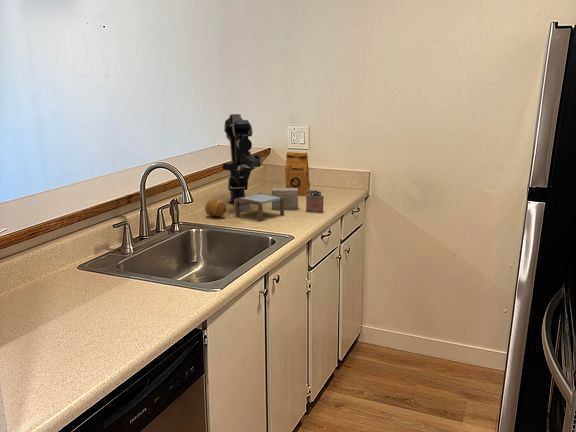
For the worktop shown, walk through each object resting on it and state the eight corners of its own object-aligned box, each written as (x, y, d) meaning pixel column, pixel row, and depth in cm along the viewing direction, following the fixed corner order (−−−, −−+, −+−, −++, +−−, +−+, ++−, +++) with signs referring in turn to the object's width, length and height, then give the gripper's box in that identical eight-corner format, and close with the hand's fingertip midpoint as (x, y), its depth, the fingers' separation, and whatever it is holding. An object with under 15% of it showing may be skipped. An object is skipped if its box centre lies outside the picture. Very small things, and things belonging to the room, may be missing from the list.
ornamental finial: (204, 217, 242) (203, 200, 240) (216, 214, 248) (216, 197, 246) (218, 220, 237) (217, 202, 236) (230, 217, 243) (230, 200, 241)
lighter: (324, 212, 253) (324, 190, 251) (322, 213, 250) (322, 191, 248) (307, 210, 256) (307, 188, 253) (304, 212, 253) (305, 190, 250)
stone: (234, 209, 257) (234, 198, 256) (242, 207, 261) (242, 197, 260) (242, 211, 254) (242, 200, 253) (250, 209, 258) (250, 198, 257)
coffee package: (306, 198, 282) (306, 154, 277) (282, 196, 286) (282, 152, 281) (312, 194, 291) (312, 151, 286) (289, 193, 295) (289, 150, 290)
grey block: (298, 205, 261) (297, 187, 256) (298, 209, 258) (297, 191, 253) (271, 205, 261) (271, 187, 256) (271, 209, 258) (270, 191, 253)
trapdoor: (261, 204, 236) (261, 201, 235) (240, 200, 243) (240, 197, 243) (280, 199, 244) (280, 197, 244) (259, 195, 252) (259, 193, 252)
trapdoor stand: (260, 221, 236) (260, 202, 234) (235, 216, 244) (235, 198, 243) (284, 215, 247) (284, 197, 245) (259, 210, 256) (259, 192, 254)
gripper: (239, 152, 239) (240, 189, 243) (269, 148, 253) (269, 183, 257) (221, 150, 246) (222, 186, 250) (251, 146, 260) (251, 180, 264)
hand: (242, 184), depth 255 cm, fingers open, 4 cm apart
